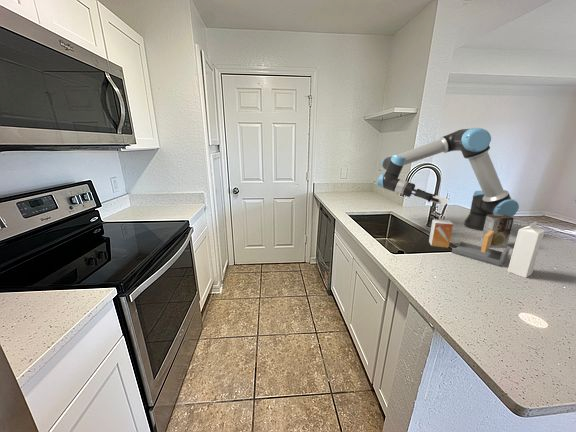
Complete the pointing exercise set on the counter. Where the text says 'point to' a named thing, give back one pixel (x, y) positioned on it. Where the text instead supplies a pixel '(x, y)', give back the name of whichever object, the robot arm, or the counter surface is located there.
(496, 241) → the coffee box
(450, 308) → the counter surface
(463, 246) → the tray
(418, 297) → the counter surface
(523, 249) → the white tall carton box
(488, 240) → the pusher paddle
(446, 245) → the small box
